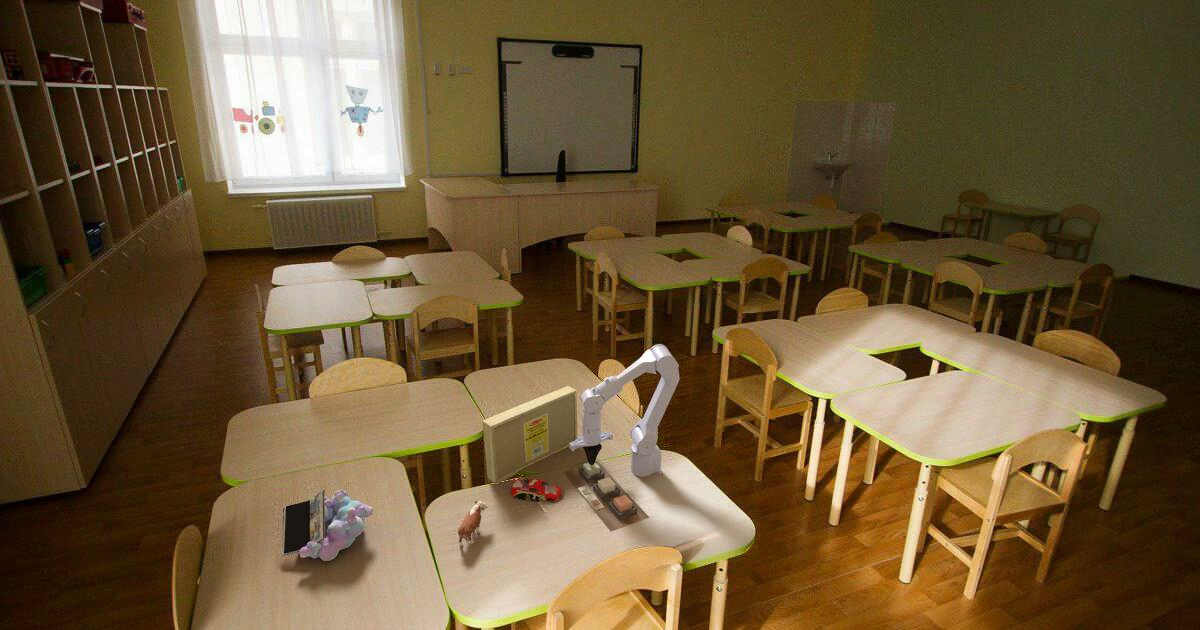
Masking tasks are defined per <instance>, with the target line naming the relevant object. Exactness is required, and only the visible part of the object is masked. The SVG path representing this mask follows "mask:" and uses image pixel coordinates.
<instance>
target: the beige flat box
mask: <svg viewBox="0 0 1200 630" xmlns="http://www.w3.org/2000/svg"><path fill="white" fill-rule="evenodd" d="M577 394H578V393H577V389H575V388H573V387H571V386H569V385H566V386H564V387H562V388H559V389H557V390H555V391H552V392H550V393H547V394H544V395H542V396H539V397H537V398H535V399H531V400H529V401H528V402H523V403H521V404H519V405H516V406H515V407H512V408H509V409H507V410H505V411H502V412H500V413H498V414H495V415H493V416H490V417H488V418H486V419H483V420H482V429H483V430H482V431H483V443H484V454H485V462H486V463H485V464H486V473H487V474H486V475H487V479H488V480H489V481H490V482H492V483H493V484H494V485H498V484H500V483H502V482H504V481H506V480H508V479H510V478H512V477H514V476H515V475H516V476H517V474H519V473H520V472H519V471H521V470H523V469H525V467H526V468H527V467H528V466H532V465H534V464H536V463H537V462H539V461H542V460H543V459H546V458H547V457H549V456H552V455H554V454H556V453H558V452H560V451H563V450H564V449H566V448H569V443H571V442H573V441H575V440H577V439H578V407H577V406H578V405H577V404H578V402H577V401H578V396H577ZM497 483H498V484H497Z"/></svg>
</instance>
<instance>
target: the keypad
mask: <svg viewBox="0 0 1200 630" xmlns="http://www.w3.org/2000/svg"><path fill="white" fill-rule="evenodd" d="M595 462H596V463H597V464H598V466H599V467H600V473H598V474H595V475H592V476H589V477H588V475H587V474H586V473H585V472H584V471H583V465H581V466H578V467H576V468H572V469H569V470H567V471H566V470H565V471H562V474H563V475H564V476H565V477H566V479H567V480H568V481H569V482H570V484H571V485H572V486H573V487H574V489H575V490H576V491H577V492H578V494H580V496H581V498H583V500H584V501H585V502H586V503H587V504H588V506H589V507H590V508H591V509H592V511H593V512H594V513H595V514H596V515H597V517H598V518H599V520H601V522H602V523H603V524H604V526H605V527H606V528H607V529H608V530H609V531H610V532H613V531H616V530H618V529H621V528H624V527H627V526H630V525H632V524H635V523H638V522H641V521H642V520H643V521H644V520H646V519H648V518H650V516H649V515H648V514H647V512H645V510H643V509H642V507H640V505H639V504H638V503H637V502H636V501H635V500H634V499H633V498H632V497H631V495H629V494H628V493H627V491H626V490H625V489H624V488H623V487H622V486H621V485H620V484H619V483H618V481H617V480H615V479H614V477H613V476H612V475H611V474H610V473H609V472H608V471H607V470H606V469H605V468H604V467H603V465H602V464H601V463H600V462H599V461H595ZM608 477H609V478H610V479H611V480H612V481H613V482H614V483H615V490H614V491H611V492H608V493H605V494H603V493H602V492H601V490H600V489H599V488H598V481H599V480H602V479H605V478H608ZM623 495H626V496H627V497H628V498H629V499H630V500H631V501H632V509H630V510H627V511H624V512H621V513H620V512H619V511H618V510H617V509H616V508H615V506H614V499H615V498H618V497H621V496H623Z"/></svg>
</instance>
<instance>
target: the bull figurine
mask: <svg viewBox="0 0 1200 630" xmlns="http://www.w3.org/2000/svg"><path fill="white" fill-rule="evenodd" d="M474 504H475V505H474V506H472V508H471V509H470V510H469V511H468V513H467V514H466V515H465V516H464V519H463V520H462V522H461V524H460V526H459V527H458V529H457V534H458V536H459V540H458V543H459V547H463V546H464V544H463V539H464V540H465V543H466V544H467V545H469V544H471V545H473V544H475V541H474V540H473V539H472V534H473V532H475V533H477V534H480V533H481V530H480V525H481V521H482V514H481V513H482V512H483V511H485V510H487V509H488V508H489V505H488V504H486V502H484V501H482V500H479V501H478V500H475V501H474Z"/></svg>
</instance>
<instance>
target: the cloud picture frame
mask: <svg viewBox="0 0 1200 630" xmlns="http://www.w3.org/2000/svg"><path fill="white" fill-rule="evenodd" d="M325 490H326V489H325V487H324V488H322V489H321V490H320V491H317V493H316V494H314V495H313V496H312V497H311V498H310V499H308V500H304V501H300V502H296V503H292V504H288V505H284V506H282V507H281V544H280V545H281V550H280V551H281V552H280V553H281V554H280V555H281V556H280V557H281V558H285V557H289V556H293V555H297V554H299V556H300V558H303V559H304V558H308V557H309V558H310V557H311V558H312V559H317V558H320V559H321V560H322V561H324V562H328V561H329V562H330V561H333V560H334V559H335V558H336V557H337V556H338V554H339V552H340V551H342V550H344V549H347V548H350V547H351V545H352V544H353V543H354V541H355V540H356V538H357V537H359V536H360V535H361V534H362V533H363V531H364V530H365V525H366V523H365V521H366V520H365V519H366V518H369V517H370V516H372V515H373V513H374V508H373V507H372V505H371V506H370V505H367V504H365V503H362V502H360V501H359V500H352V499H351V497H349V496H348V492H347V491H345V490H343V489H337V490H336V491H335V492H334V493H335V494H334V495H333V496H332V497H331V499H329V497H327V496H325V495H326V494H325V493H326V491H325Z"/></svg>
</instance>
